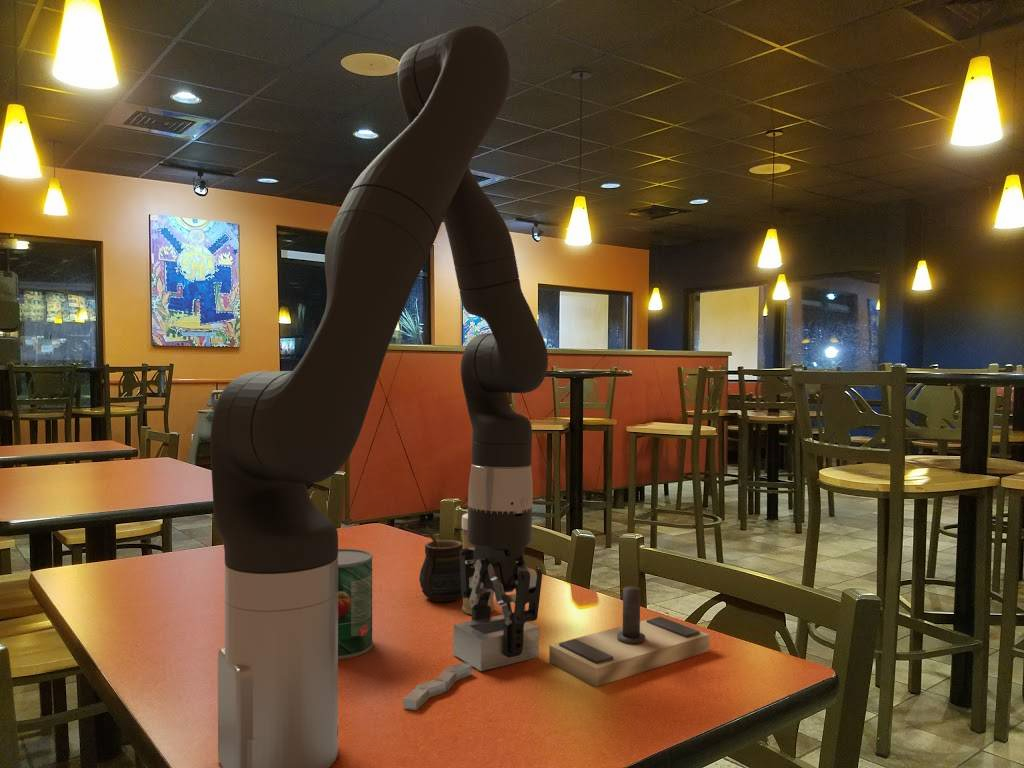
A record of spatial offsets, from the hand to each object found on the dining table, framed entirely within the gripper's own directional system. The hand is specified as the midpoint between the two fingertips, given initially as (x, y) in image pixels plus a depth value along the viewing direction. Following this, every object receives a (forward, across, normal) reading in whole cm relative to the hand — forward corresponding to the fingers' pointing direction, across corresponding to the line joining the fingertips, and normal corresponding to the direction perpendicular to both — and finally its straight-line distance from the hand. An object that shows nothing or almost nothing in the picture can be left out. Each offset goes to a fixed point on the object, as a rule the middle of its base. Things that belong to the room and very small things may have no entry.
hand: (496, 646), depth 87 cm
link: (+1, 0, 0) cm, 1 cm away
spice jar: (+1, -15, +7) cm, 17 cm away
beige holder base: (+1, +9, +13) cm, 16 cm away
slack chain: (+1, +4, -10) cm, 11 cm away
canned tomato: (+2, -13, -14) cm, 19 cm away
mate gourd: (+1, -23, +6) cm, 24 cm away
